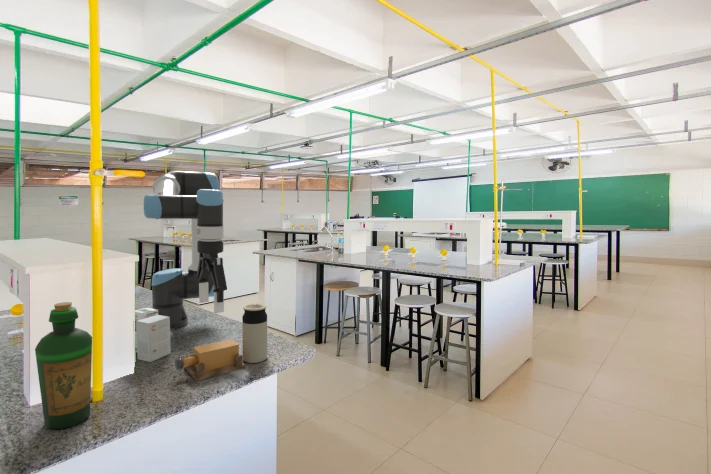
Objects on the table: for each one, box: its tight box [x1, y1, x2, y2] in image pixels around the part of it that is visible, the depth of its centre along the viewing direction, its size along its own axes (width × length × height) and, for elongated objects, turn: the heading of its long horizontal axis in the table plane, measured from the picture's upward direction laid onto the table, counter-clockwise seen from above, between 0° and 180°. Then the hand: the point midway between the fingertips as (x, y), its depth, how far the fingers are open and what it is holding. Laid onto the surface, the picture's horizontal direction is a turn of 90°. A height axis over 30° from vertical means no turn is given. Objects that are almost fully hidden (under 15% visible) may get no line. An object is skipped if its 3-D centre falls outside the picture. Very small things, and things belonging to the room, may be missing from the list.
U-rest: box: [184, 352, 246, 382], centre depth 118 cm, size 15×11×4 cm
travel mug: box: [241, 302, 268, 364], centre depth 125 cm, size 8×8×18 cm
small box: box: [136, 315, 172, 363], centre depth 125 cm, size 8×6×13 cm
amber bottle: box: [174, 338, 240, 371], centre depth 116 cm, size 18×6×6 cm, turn 129°
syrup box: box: [134, 307, 158, 353], centre depth 130 cm, size 6×6×14 cm
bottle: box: [34, 301, 93, 430], centre depth 87 cm, size 11×11×28 cm
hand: (211, 307), depth 117 cm, fingers open, 13 cm apart
